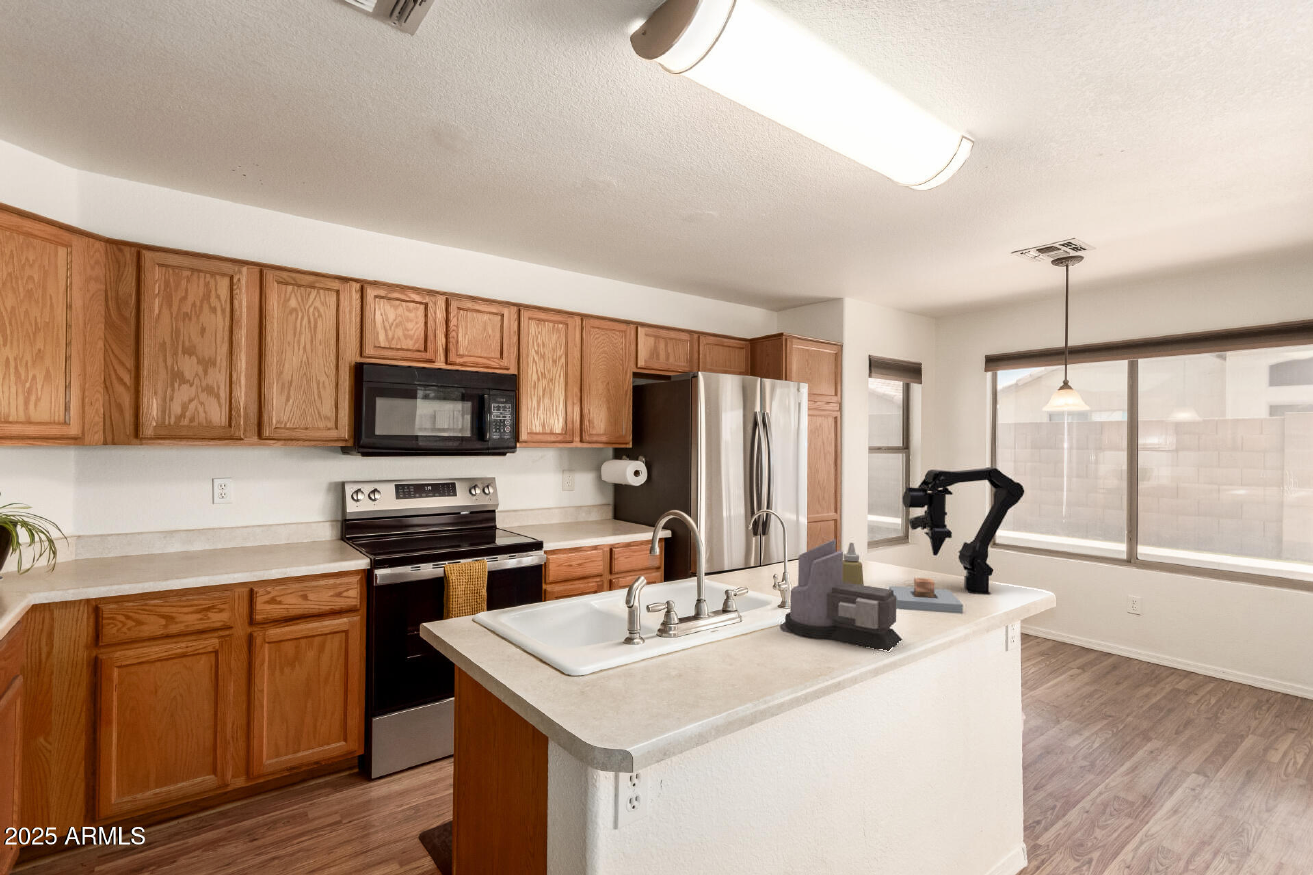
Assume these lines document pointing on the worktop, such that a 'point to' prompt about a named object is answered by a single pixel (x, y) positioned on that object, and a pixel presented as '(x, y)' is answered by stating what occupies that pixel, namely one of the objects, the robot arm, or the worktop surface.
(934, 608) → the socket board
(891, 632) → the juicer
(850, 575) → the squeeze bottle
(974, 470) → the robot arm
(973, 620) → the worktop surface
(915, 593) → the brown block
